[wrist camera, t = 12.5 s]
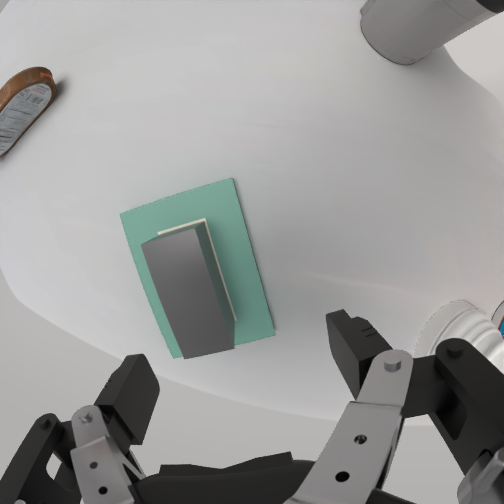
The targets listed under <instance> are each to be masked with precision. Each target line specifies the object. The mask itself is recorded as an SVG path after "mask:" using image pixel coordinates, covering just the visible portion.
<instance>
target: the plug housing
mask: <svg viewBox="0 0 504 504" xmlns="http://www.w3.org/2000/svg"><path fill="white" fill-rule="evenodd" d="M141 248H142V251H143V254H144V257H145V260H146V263H147V266H148V269H149V271H150V274H151V277H152V280H153V283H154V285H155V288H156V291H157V294H158V296H159V299H160V302H161V304H162V307H163V309H164V312H165V314H166V317H167V319H168V322H169V324H170V327H171V329H172V332H173V334H174V336H175V339H176V341H177V343H178V346H179V348H180V350H181V352H182V355H183V357H184V359H189V358H194V357H199V356H203V355H208V354H213V353H217V352H222V351H226V350H231V349H234V342H235V318H234V315H233V312H232V309H231V306H230V303H229V300H228V297H227V294H226V291H225V287H224V284H223V281H222V278H221V275H220V272H219V268H218V265H217V262H216V259H215V255H214V252H213V249H212V245H211V242H210V239H209V235H208V232H207V228H206V225H205V222H204V221H202V222H199V223H195V224H192V225H189V226H185V227H182V228H179V229H175V230H172V231H169V232H166V233H163V234H160V235H158V236H156V237H154V238H152V239H150V240H148V241H147V242H145V243H143V244H141Z"/></svg>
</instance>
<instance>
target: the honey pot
mask: <svg viewBox="0 0 504 504" xmlns="http://www.w3.org/2000/svg"><path fill="white" fill-rule="evenodd" d="M449 338H461V339H464V340H466V341H468V342H469V343H470V344H472V345H473V346H474V347H475V348H476V349H477V350H478V351H479V352H480V353H482V354H483V355H484V356H485V357H486V358H487V359H488V360H489V361H490V362H491V363H492V364H493V365H494V366H495V367H497V368H498V369H499V370H500V371H501V372H502V373H503V374H504V339H503V338H502V335H501V332H500V331H499V330H498V329H497V328H496V326H495V325H494V324H493V323H492V321H491V318H490V317H489V316H488V315H487V314H485V313H484V312H482V311H480V310H478V309H477V308H475V307H474V306H472V305H470V304H468V303H466V302H465V301H460V300H457V301H453V302H450V303H448V304H446V305H444V306H443V307H442V308H440V309H439V310H438V311H437V312H436V313H435V314H434V315H433V316H432V318H431V319H430V320H429V321H428V322H427V324H426V326H425V327H424V329H423V331H422V332H421V334H420V337H419V339H418V342H417V344H416V349H415V353H414V358H420V357H425V356H430V355H435V350H436V347H437V345H438V344H439V343H440V342H442V341H444V340H446V339H449Z"/></svg>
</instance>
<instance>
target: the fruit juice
mask: <svg viewBox="0 0 504 504" xmlns="http://www.w3.org/2000/svg"><path fill="white" fill-rule="evenodd" d="M492 323H493V324H494V325H495V326H496V328H497V329H498V330H499V331H500V332H501V335H502V338H503V339H504V302H503V303H502V304H501V305H500V306H499V308H498V309H497V311H496V312H495V314H494V316H493V318H492Z"/></svg>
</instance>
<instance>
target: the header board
mask: <svg viewBox="0 0 504 504" xmlns="http://www.w3.org/2000/svg"><path fill="white" fill-rule="evenodd" d="M120 217H121V221H122V224H123V228H124V231H125V234H126V237H127V241H128V244H129V247H130V250H131V253H132V256H133V259H134V262H135V265H136V268H137V271H138V274H139V277H140V279H141V282H142V285H143V288H144V290H145V293H146V296H147V298H148V301H149V303H150V306H151V308H152V311H153V313H154V316H155V318H156V321H157V323H158V325H159V328H160V330H161V333H162V335H163V337H164V339H165V342H166V344H167V346H168V348H169V351H170V353H171V355H172V357H173V358H179V357H183V355H182V352H181V350H180V348H179V346H178V343H177V341H176V339H175V336H174V334H173V332H172V329H171V327H170V324H169V322H168V319H167V317H166V314H165V312H164V309H163V307H162V304H161V302H160V299H159V296H158V294H157V291H156V288H155V285H154V283H153V280H152V277H151V274H150V271H149V269H148V266H147V263H146V260H145V257H144V254H143V251H142V248H141V244H143V243H145V242H147V241H148V240H150V239H152V238H154V237H156V236H158V235H160V234H163V233H166V232H169V231H172V230H175V229H179V228H182V227H185V226H189V225H192V224H195V223H199V222H202V221H204V222H205V225H206V228H207V232H208V235H209V239H210V242H211V245H212V249H213V252H214V255H215V259H216V262H217V265H218V268H219V272H220V275H221V278H222V281H223V284H224V287H225V291H226V294H227V297H228V300H229V303H230V306H231V309H232V312H233V315H234V318H235V342H234V346H235V345H239V344H243V343H247V342H251V341H255V340H259V339H263V338H266V337H270V336H274V335H275V331H274V327H273V324H272V320H271V317H270V313H269V309H268V306H267V302H266V298H265V295H264V291H263V288H262V284H261V280H260V277H259V273H258V269H257V266H256V262H255V259H254V255H253V251H252V248H251V244H250V241H249V237H248V233H247V230H246V226H245V222H244V219H243V215H242V212H241V208H240V204H239V201H238V197H237V194H236V190H235V186H234V183H233V179H232V178H229V179H225V180H222V181H218V182H215V183H212V184H208V185H205V186H202V187H198V188H195V189H192V190H188V191H185V192H182V193H179V194H176V195H173V196H170V197H167V198H164V199H161V200H158V201H155V202H152V203H149V204H146V205H143V206H140V207H138V208H135V209H132V210H129V211H127V212H124V213H121V214H120Z"/></svg>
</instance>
